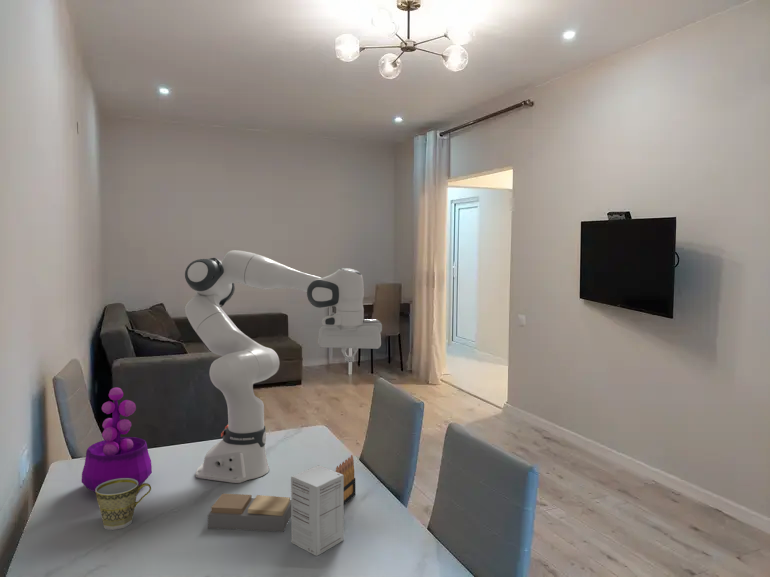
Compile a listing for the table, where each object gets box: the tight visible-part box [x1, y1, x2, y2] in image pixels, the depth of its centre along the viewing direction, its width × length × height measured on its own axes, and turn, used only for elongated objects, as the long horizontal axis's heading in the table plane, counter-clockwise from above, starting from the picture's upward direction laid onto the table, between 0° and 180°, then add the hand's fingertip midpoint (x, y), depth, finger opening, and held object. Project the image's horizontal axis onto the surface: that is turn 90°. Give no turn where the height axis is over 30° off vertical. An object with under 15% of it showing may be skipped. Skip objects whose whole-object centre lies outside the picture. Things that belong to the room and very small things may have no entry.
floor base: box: [207, 493, 291, 533], centre depth 144 cm, size 20×10×5 cm, turn 86°
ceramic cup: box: [95, 478, 152, 531], centre depth 142 cm, size 13×10×10 cm
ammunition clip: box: [335, 454, 357, 506], centre depth 156 cm, size 11×2×12 cm, turn 157°
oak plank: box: [248, 494, 291, 516], centre depth 144 cm, size 9×8×1 cm
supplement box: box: [290, 465, 345, 557], centre depth 134 cm, size 10×9×17 cm
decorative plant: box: [81, 387, 153, 493], centre depth 162 cm, size 19×18×30 cm
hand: (349, 361), depth 178 cm, fingers closed
